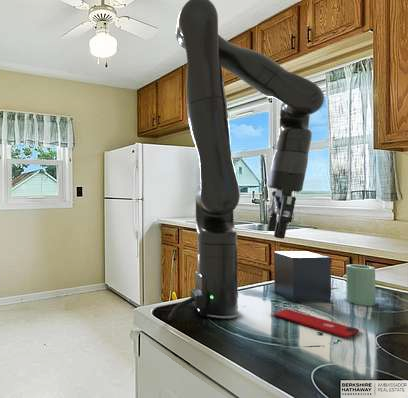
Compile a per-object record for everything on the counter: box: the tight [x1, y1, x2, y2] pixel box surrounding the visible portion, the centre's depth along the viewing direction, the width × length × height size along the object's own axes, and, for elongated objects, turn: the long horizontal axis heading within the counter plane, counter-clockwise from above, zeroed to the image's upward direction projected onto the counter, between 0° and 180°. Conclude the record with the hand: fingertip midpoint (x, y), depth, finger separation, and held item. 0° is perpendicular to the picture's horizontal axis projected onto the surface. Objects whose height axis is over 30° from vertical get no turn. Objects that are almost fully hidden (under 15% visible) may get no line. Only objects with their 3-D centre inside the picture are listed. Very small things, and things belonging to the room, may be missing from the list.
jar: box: [345, 263, 376, 307], centre depth 86 cm, size 6×6×10 cm
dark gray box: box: [273, 251, 333, 303], centre depth 91 cm, size 12×10×12 cm
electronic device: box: [273, 308, 360, 339], centre depth 71 cm, size 6×1×15 cm
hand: (275, 234), depth 81 cm, fingers open, 8 cm apart
